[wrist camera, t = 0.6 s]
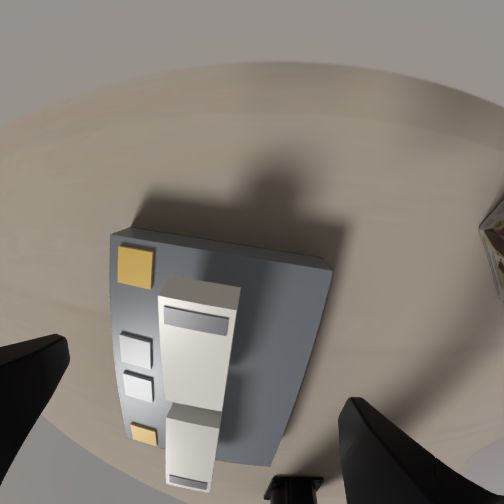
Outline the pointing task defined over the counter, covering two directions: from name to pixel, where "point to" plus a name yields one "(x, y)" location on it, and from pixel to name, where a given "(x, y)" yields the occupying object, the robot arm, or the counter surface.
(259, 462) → the switch unit
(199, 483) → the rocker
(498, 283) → the coffee box
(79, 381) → the counter surface
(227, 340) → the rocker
